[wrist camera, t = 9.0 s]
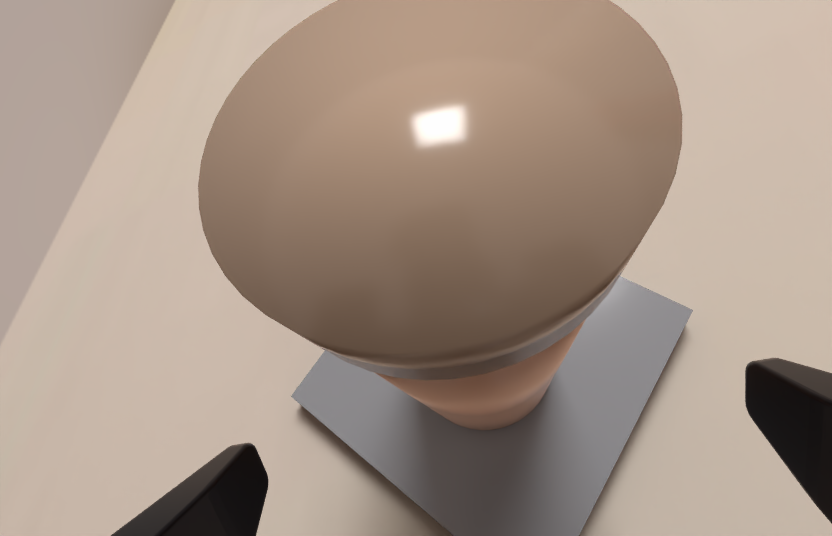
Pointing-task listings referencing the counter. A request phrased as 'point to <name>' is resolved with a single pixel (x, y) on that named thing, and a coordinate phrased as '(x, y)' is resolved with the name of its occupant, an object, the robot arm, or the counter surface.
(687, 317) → the coaster
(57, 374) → the counter surface
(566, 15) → the spice jar
